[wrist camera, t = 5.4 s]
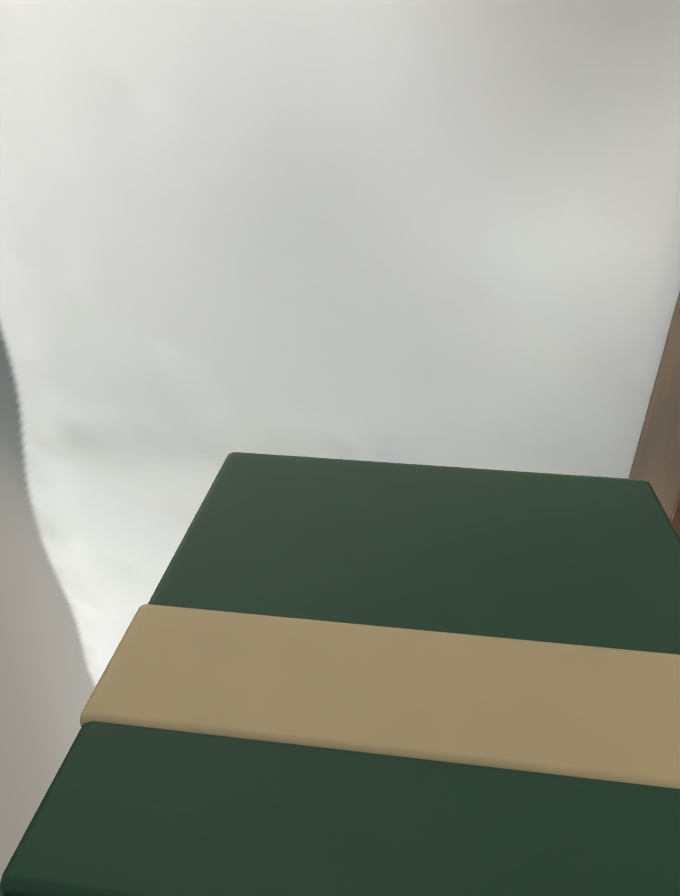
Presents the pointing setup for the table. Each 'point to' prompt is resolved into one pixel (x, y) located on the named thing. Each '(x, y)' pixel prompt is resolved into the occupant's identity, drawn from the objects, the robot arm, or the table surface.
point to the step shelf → (663, 430)
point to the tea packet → (385, 696)
